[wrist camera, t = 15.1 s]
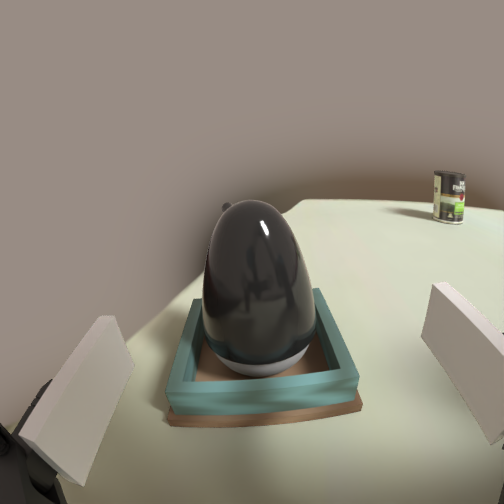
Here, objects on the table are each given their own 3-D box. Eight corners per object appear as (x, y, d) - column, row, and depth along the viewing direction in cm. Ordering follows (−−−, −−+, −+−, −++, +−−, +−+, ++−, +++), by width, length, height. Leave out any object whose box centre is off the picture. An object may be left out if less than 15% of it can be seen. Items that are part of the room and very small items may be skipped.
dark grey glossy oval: (280, 316, 33) (272, 186, 28) (335, 364, 24) (344, 199, 19) (198, 343, 29) (170, 203, 24) (235, 410, 20) (201, 226, 15)
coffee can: (468, 222, 65) (472, 175, 60) (450, 225, 63) (453, 174, 58) (445, 214, 74) (447, 170, 69) (425, 217, 72) (427, 170, 68)
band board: (321, 313, 35) (322, 285, 33) (360, 410, 20) (369, 379, 18) (195, 324, 35) (189, 296, 33) (170, 426, 20) (156, 397, 18)
